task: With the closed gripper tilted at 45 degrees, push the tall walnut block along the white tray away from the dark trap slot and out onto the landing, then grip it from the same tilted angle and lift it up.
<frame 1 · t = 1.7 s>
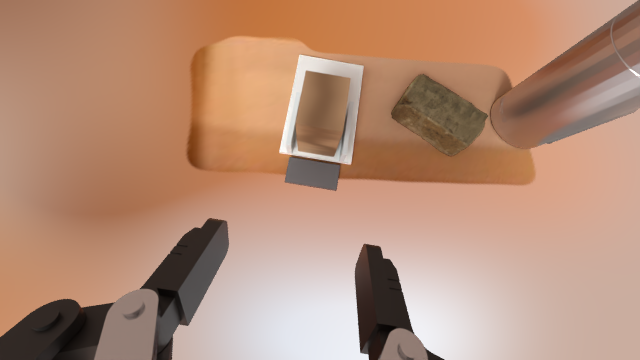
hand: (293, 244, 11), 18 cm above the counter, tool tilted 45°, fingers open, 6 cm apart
walnut block: (319, 132, 32), point 1 cm above the counter, touching white tray
white tray: (323, 111, 33), on the counter
stone block: (427, 125, 34), on the counter
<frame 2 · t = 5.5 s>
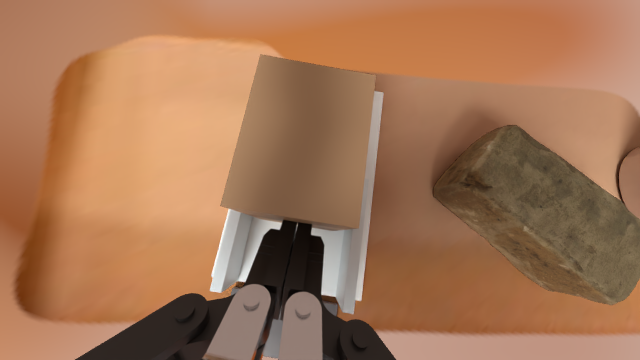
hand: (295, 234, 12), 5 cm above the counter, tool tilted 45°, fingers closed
walnut block: (305, 180, 17), point 1 cm above the counter
white tray: (306, 181, 17), on the counter
stone block: (498, 215, 18), on the counter
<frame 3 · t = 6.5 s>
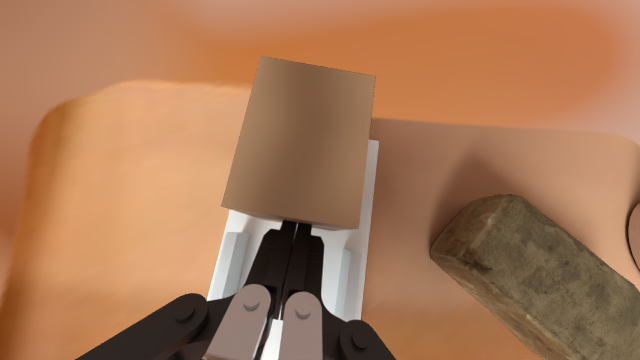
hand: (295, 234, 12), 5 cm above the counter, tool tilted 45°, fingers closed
walnut block: (305, 181, 17), point 1 cm above the counter, touching white tray, gripper
white tray: (297, 240, 16), on the counter
stone block: (498, 276, 17), on the counter
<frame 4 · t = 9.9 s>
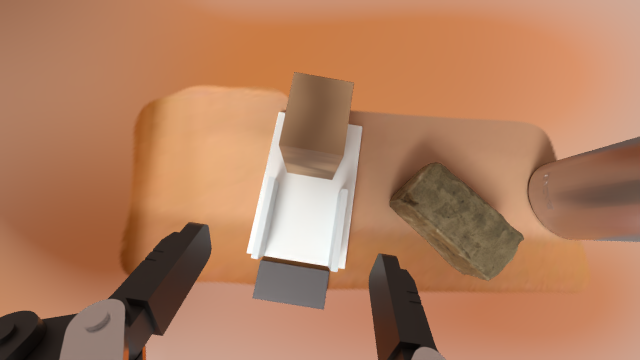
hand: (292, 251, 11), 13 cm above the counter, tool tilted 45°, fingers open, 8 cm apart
walnut block: (314, 149, 26), point 1 cm above the counter, touching white tray
white tray: (308, 190, 25), on the counter
stone block: (436, 221, 26), on the counter
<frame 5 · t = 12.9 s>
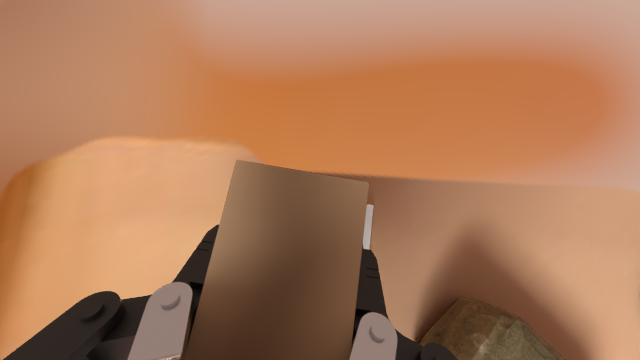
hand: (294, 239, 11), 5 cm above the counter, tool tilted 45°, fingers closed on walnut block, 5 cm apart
walnut block: (296, 248, 15), point 1 cm above the counter, touching white tray, gripper
white tray: (283, 320, 15), on the counter
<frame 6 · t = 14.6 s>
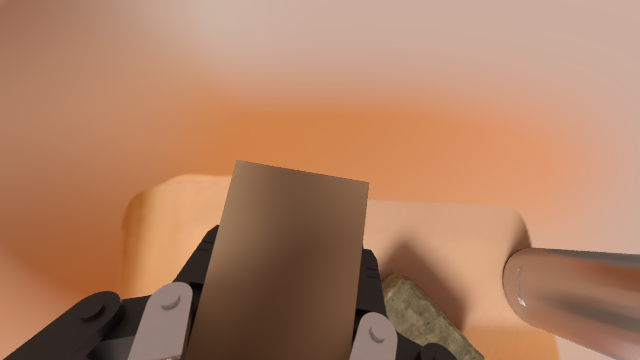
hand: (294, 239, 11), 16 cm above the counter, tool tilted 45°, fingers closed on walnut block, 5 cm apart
walnut block: (296, 248, 15), point 12 cm above the counter, touching gripper
stone block: (407, 321, 26), on the counter
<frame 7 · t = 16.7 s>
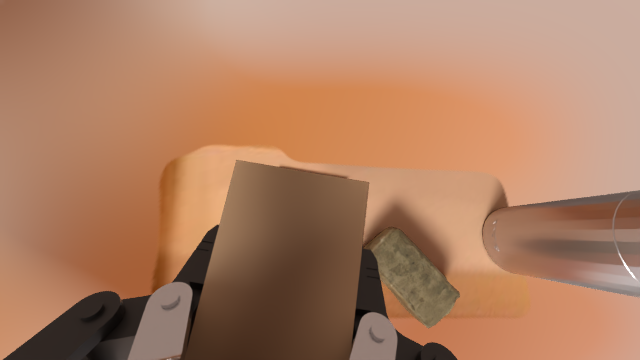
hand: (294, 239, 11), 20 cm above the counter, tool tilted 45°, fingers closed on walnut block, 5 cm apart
walnut block: (296, 247, 15), point 16 cm above the counter, touching gripper
stone block: (398, 270, 31), on the counter
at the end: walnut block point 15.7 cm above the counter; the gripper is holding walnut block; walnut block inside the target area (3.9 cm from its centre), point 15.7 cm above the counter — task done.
